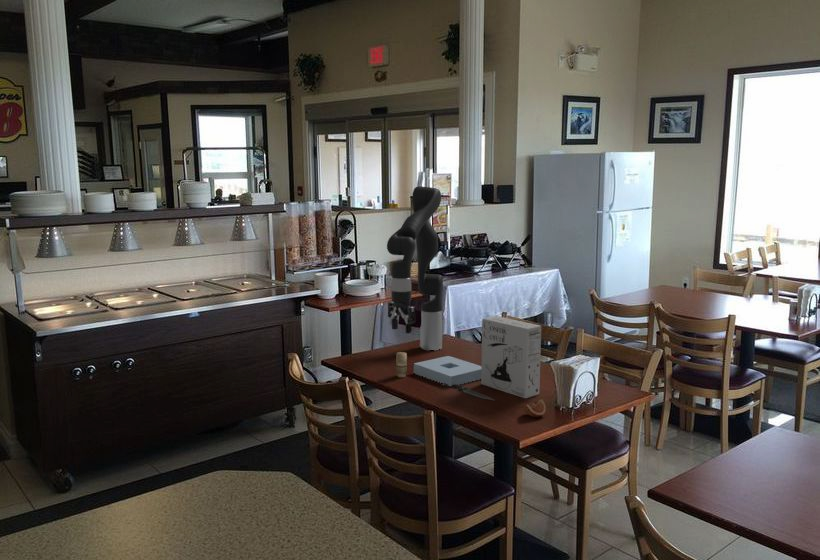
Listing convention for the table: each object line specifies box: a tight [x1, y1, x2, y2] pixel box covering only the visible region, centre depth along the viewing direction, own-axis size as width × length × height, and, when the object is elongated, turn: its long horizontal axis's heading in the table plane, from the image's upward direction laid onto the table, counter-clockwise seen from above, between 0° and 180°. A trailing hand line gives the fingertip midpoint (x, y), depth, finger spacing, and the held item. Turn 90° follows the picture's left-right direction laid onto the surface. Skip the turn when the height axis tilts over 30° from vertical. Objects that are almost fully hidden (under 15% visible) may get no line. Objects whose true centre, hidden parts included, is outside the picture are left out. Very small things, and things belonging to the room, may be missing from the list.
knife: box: [442, 383, 495, 401], centre depth 249 cm, size 26×1×5 cm
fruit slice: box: [521, 398, 547, 418], centre depth 224 cm, size 8×7×5 cm
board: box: [413, 355, 481, 387], centre depth 268 cm, size 22×18×4 cm
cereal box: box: [480, 315, 542, 399], centre depth 250 cm, size 22×8×25 cm, turn 40°
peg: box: [395, 351, 408, 378], centre depth 267 cm, size 4×4×9 cm
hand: (401, 331), depth 265 cm, fingers open, 8 cm apart
